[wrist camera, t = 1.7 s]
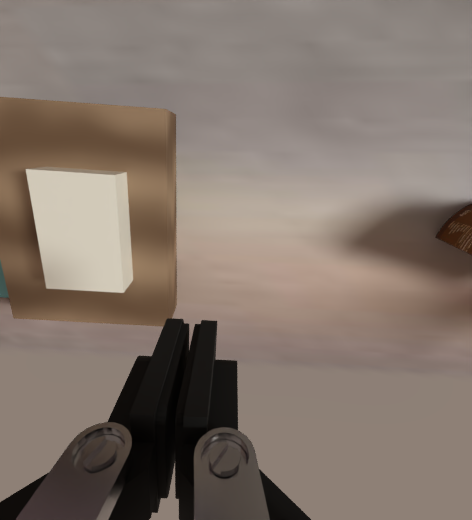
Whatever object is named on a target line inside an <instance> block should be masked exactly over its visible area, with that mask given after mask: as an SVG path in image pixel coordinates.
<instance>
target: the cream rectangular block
mask: <svg viewBox="0 0 472 520" xmlns="http://www.w3.org/2000/svg"><path fill="white" fill-rule="evenodd" d="M26 174H27V180H28V186H29V192H30V197H31V203H32V209H33V214H34V220H35V226H36V232H37V237H38V243H39V249H40V255H41V260H42V266H43V272H44V278H45V283H46V289H63V290H81V291H99V292H116V293H124V292H125V290H126V289H127V288H128V286H129V285H130V284H131V282H132V281H133V269H132V252H131V236H130V219H129V203H128V186H127V172H118V171H103V170H88V169H73V168H58V167H39V168H31V169H26Z"/></svg>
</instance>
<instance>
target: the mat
mask: <svg viewBox="0 0 472 520" xmlns="http://www.w3.org/2000/svg"><path fill="white" fill-rule="evenodd" d="M0 297H6V298H9V296H8V291H7V287H6V283H5V278H4V274H3V269H2V265H1V260H0Z"/></svg>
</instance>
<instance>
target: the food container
mask: <svg viewBox="0 0 472 520" xmlns="http://www.w3.org/2000/svg"><path fill="white" fill-rule="evenodd" d="M436 238H438V239H440V240H442V241H444V242H446V243H448V244H450V245H452V246H454V247H456V248H458V249H460V250H462V251H464V252H467V253H469V254H471V255H472V204H470V205H468V206H466V207H465V208H463V209H461V210H460V211H458V212H457V213H456V214H454V215H453V216H452V217H451V218H450V219H449V220H448V221H447V222H446V223H445V224H444V225H443V227H442V228H441V229H440V231H439V232H438V234H437V236H436Z"/></svg>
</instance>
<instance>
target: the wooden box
mask: <svg viewBox="0 0 472 520" xmlns="http://www.w3.org/2000/svg"><path fill="white" fill-rule="evenodd" d="M39 167H58V168H73V169H88V170H103V171H118V172H127V186H128V203H129V219H130V236H131V252H132V269H133V281H132V282H131V284H130V285H129V286H128V288H127V289H126V290H125V292H124V293H116V292H99V291H81V290H63V289H46V283H45V278H44V272H43V266H42V260H41V255H40V249H39V243H38V237H37V232H36V226H35V220H34V214H33V209H32V203H31V197H30V192H29V186H28V180H27V174H26V169H31V168H39ZM0 260H1V265H2V269H3V274H4V278H5V283H6V287H7V291H8V296H9V300H10V305H11V309H12V314H13V318H18V319H36V320H55V321H73V322H92V323H110V324H129V325H147V326H164V324H165V322H166V320H167V318H171V319H172V316H173V314H174V311H175V308H176V305H177V282H176V114H174V113H172V112H170V111H168V110H166V109H158V108H144V107H131V106H117V105H103V104H90V103H76V102H62V101H49V100H35V99H21V98H8V97H0Z"/></svg>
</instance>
